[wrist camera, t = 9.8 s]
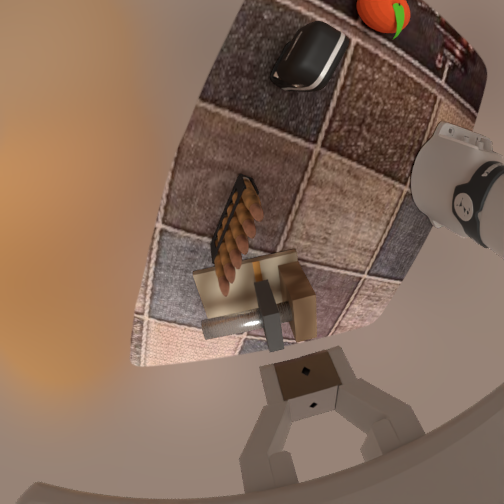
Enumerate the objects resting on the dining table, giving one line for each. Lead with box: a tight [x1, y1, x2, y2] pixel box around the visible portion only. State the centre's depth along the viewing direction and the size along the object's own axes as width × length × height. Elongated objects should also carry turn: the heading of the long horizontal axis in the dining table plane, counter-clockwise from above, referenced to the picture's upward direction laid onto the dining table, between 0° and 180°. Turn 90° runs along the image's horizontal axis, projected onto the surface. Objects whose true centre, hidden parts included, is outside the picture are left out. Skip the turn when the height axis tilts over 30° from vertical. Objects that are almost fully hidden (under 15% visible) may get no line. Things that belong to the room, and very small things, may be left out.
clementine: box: [357, 0, 410, 39], centre depth 23 cm, size 8×7×7 cm
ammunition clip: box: [211, 174, 263, 297], centre depth 33 cm, size 11×2×12 cm, turn 157°
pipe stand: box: [193, 249, 317, 343], centre depth 41 cm, size 15×11×9 cm
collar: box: [254, 279, 284, 352], centre depth 39 cm, size 2×7×7 cm, turn 10°
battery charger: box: [270, 21, 349, 92], centre depth 24 cm, size 7×4×11 cm, turn 155°
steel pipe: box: [201, 301, 293, 340], centre depth 39 cm, size 14×3×3 cm, turn 99°
